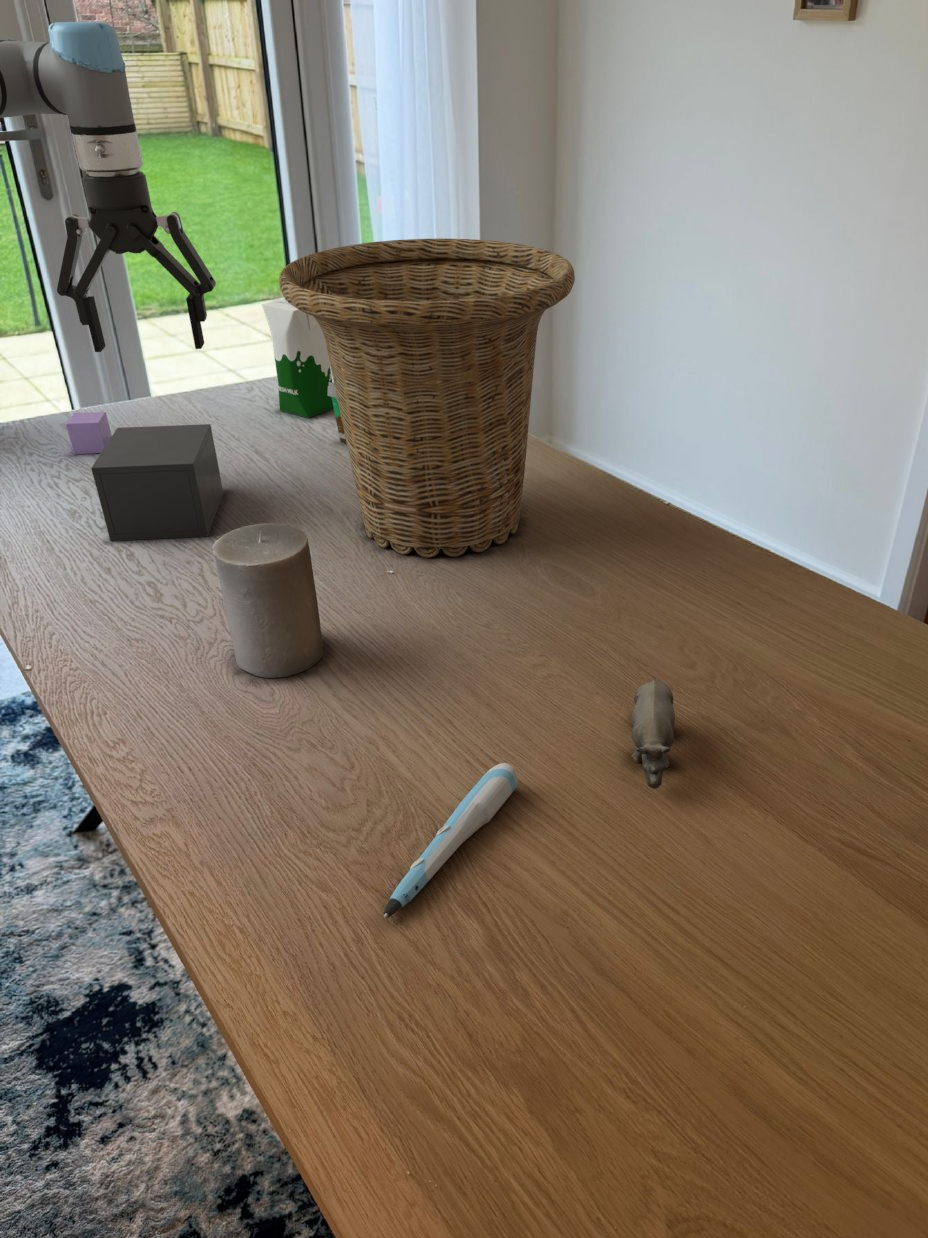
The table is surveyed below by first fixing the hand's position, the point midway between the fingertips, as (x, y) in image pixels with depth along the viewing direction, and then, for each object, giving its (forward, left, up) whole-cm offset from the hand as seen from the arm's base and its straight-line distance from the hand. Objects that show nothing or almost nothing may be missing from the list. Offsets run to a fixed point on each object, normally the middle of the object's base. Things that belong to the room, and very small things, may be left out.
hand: (150, 347), depth 139 cm
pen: (+37, -81, -21) cm, 92 cm away
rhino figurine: (+56, -71, -21) cm, 93 cm away
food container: (+28, +18, -21) cm, 39 cm away
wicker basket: (+38, -16, -21) cm, 46 cm away
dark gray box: (0, -9, -20) cm, 22 cm away
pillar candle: (+19, -48, -21) cm, 56 cm away
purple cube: (-17, +19, -20) cm, 33 cm away
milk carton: (+16, +34, -21) cm, 43 cm away
